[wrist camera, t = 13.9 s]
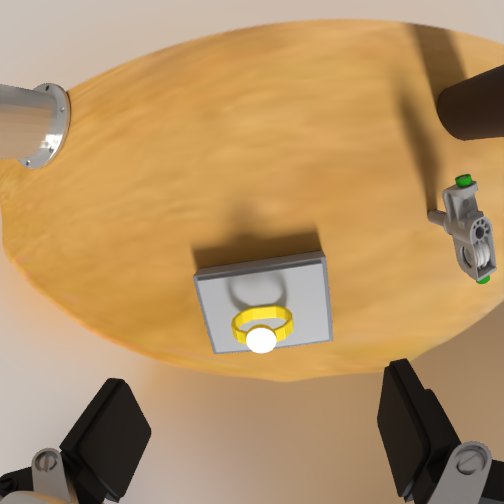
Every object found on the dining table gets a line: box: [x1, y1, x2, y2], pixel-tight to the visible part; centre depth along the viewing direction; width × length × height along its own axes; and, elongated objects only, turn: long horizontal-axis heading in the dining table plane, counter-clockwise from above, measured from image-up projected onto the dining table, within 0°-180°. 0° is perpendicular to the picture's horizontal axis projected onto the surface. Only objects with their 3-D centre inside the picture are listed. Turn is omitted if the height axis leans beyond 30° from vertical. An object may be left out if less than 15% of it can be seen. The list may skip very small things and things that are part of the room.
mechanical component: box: [428, 174, 497, 284], centre depth 24 cm, size 3×10×10 cm, turn 25°
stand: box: [193, 250, 333, 354], centre depth 32 cm, size 14×10×3 cm
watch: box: [231, 305, 294, 353], centre depth 28 cm, size 6×3×6 cm, turn 99°
